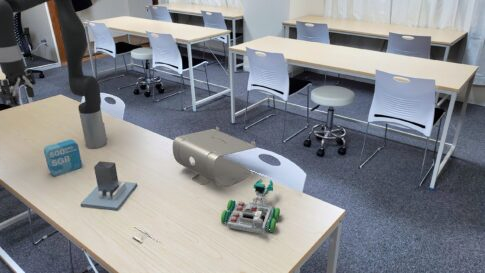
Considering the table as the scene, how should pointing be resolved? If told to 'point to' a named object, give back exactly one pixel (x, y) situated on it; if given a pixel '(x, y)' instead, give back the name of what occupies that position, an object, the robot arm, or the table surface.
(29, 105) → the table surface
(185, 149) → the curved metal cover
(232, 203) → the robot kit
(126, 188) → the pin tray
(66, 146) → the data package
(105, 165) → the dark grey rectangular block
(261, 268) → the table surface
